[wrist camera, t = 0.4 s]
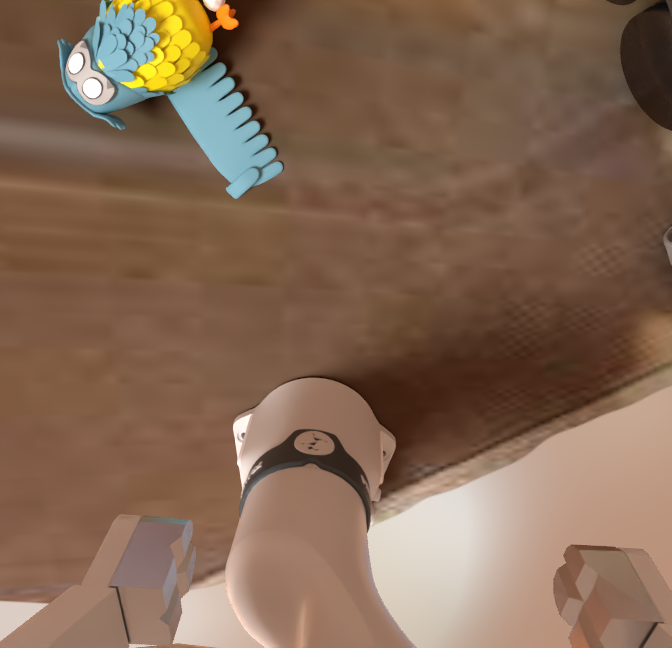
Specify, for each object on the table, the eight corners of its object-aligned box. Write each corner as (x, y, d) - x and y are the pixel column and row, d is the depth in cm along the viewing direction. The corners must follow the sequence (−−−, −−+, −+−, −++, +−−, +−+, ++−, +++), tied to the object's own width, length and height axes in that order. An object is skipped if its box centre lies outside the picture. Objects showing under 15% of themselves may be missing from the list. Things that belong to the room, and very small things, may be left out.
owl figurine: (308, 154, 39) (157, 245, 42) (317, 152, 47) (190, 228, 51) (86, -251, 31) (-79, -102, 35) (142, -170, 40) (4, -55, 43)
